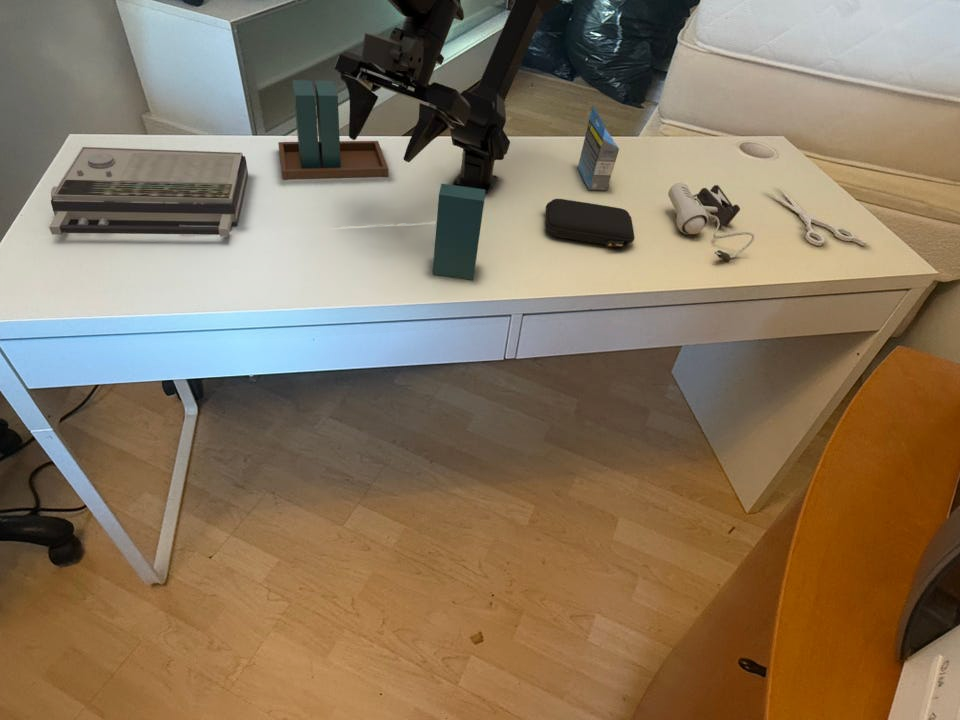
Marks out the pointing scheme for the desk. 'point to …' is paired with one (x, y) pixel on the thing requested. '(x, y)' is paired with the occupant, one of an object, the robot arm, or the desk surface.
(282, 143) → the book tray
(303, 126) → the teal book
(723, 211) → the clip-on lamp
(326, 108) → the teal book
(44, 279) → the desk surface
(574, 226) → the carrying case
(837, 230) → the scissors
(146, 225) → the radio
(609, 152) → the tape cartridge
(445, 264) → the slim teal book
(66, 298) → the desk surface
